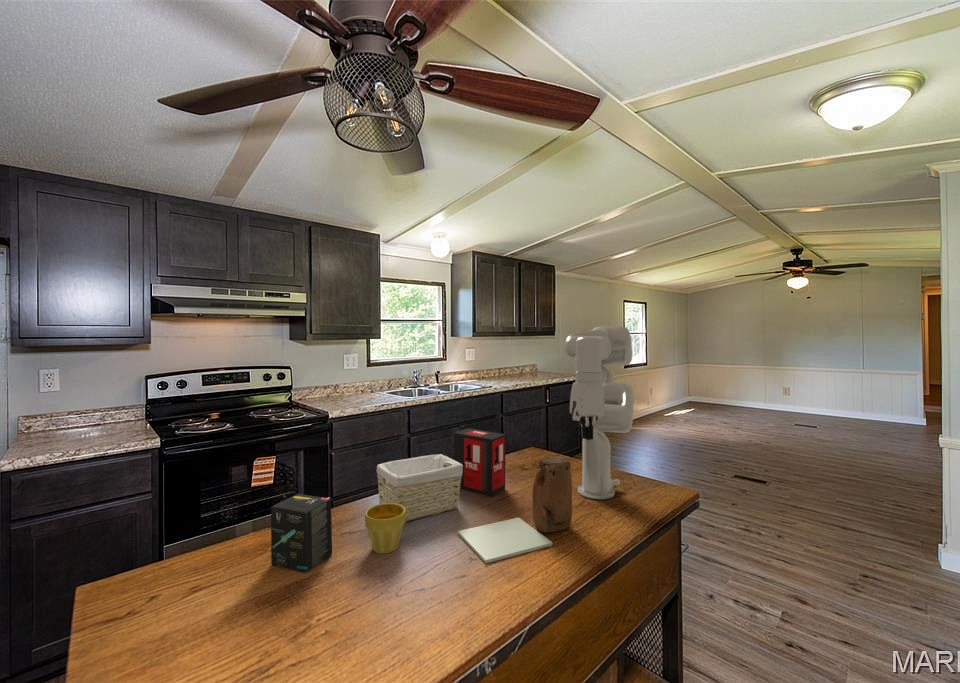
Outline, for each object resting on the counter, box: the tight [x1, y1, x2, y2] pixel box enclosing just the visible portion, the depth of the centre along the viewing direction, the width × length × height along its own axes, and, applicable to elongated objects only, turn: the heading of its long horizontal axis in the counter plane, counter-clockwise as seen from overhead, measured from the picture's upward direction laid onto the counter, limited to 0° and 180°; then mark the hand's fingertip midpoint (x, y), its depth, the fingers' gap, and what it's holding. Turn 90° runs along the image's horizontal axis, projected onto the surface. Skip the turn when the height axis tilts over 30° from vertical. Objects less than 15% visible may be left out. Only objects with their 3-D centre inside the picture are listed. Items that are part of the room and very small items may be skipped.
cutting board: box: [457, 517, 553, 564], centre depth 117 cm, size 20×17×1 cm
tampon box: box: [270, 493, 333, 574], centre depth 106 cm, size 11×9×15 cm
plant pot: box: [364, 503, 406, 554], centre depth 112 cm, size 10×10×10 cm
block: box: [532, 455, 573, 533], centre depth 124 cm, size 11×8×20 cm
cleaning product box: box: [453, 428, 506, 499], centre depth 155 cm, size 16×9×20 cm, turn 55°
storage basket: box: [376, 453, 463, 523], centre depth 137 cm, size 24×16×15 cm
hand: (587, 438), depth 129 cm, fingers closed
